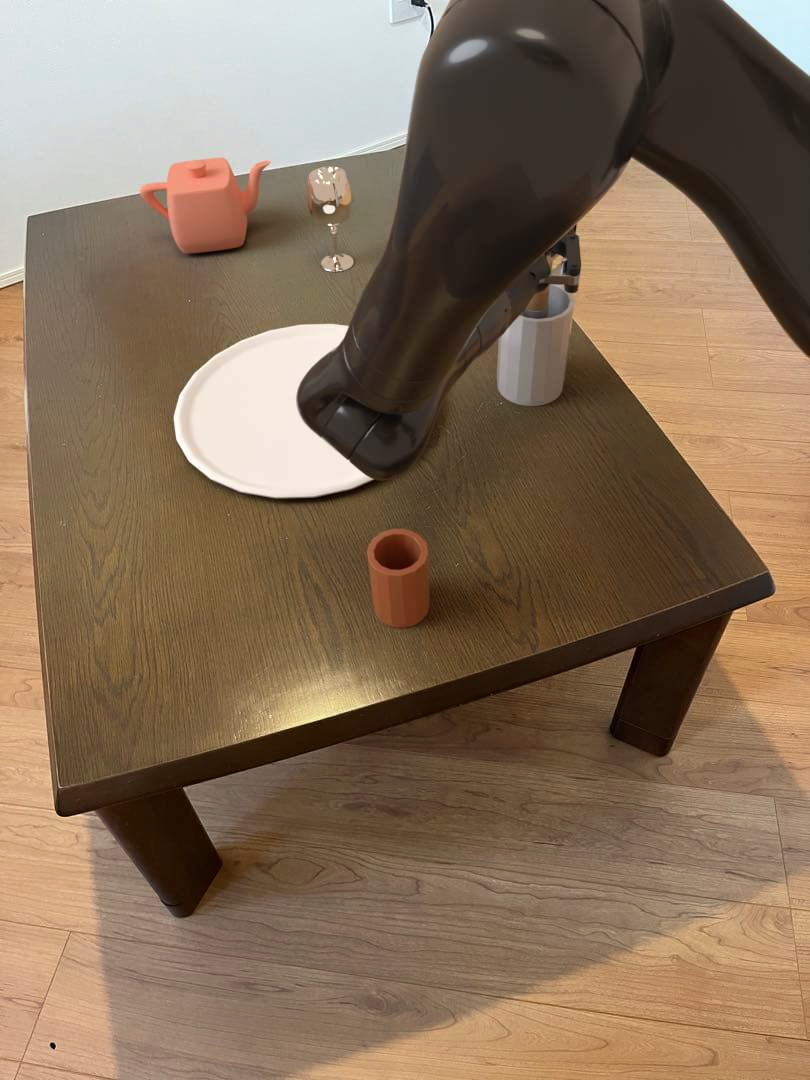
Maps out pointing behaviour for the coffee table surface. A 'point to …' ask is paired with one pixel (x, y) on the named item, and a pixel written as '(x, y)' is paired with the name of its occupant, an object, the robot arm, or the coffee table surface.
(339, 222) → the wineglass
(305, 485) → the plate
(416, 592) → the holder
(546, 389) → the grey faceted cup
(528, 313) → the light brown wooden rod
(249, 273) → the coffee table surface
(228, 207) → the teapot
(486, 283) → the robot arm
